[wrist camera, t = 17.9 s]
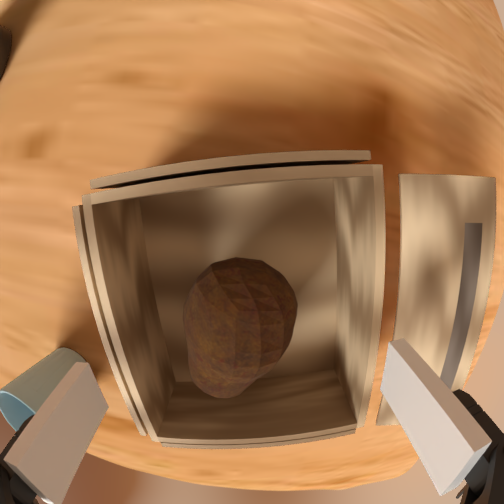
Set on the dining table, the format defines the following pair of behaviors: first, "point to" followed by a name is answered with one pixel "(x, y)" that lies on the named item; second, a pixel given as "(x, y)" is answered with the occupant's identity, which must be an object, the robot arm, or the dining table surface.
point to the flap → (443, 271)
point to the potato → (237, 324)
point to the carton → (251, 247)
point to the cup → (35, 386)
